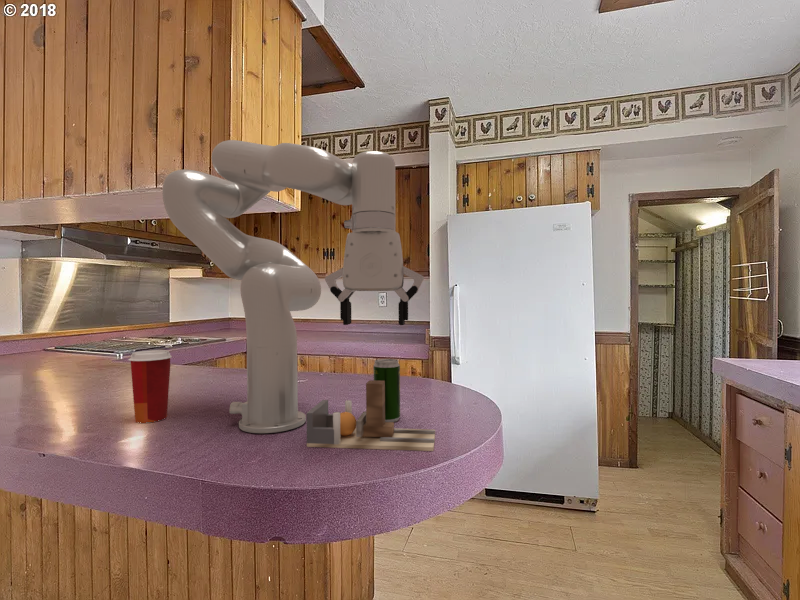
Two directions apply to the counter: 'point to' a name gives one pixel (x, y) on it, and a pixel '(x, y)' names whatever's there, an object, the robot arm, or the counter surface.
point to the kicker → (374, 413)
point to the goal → (324, 424)
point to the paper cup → (150, 384)
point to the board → (388, 441)
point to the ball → (347, 423)
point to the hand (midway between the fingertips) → (374, 324)
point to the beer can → (389, 386)
